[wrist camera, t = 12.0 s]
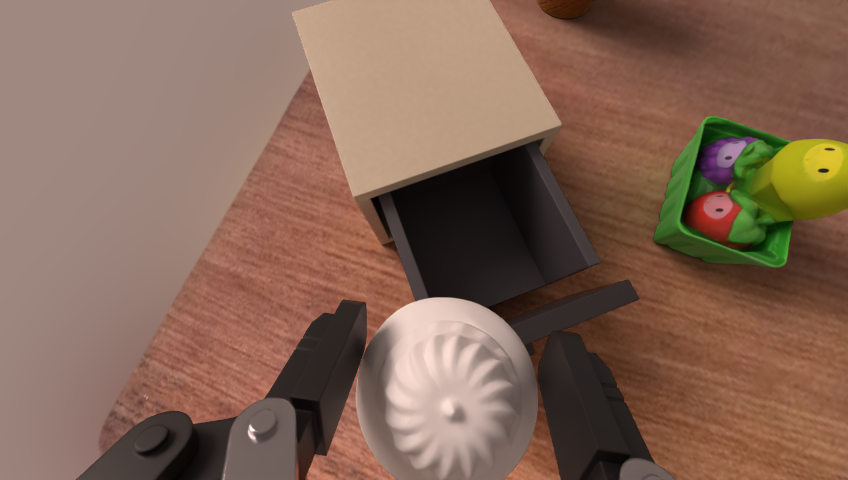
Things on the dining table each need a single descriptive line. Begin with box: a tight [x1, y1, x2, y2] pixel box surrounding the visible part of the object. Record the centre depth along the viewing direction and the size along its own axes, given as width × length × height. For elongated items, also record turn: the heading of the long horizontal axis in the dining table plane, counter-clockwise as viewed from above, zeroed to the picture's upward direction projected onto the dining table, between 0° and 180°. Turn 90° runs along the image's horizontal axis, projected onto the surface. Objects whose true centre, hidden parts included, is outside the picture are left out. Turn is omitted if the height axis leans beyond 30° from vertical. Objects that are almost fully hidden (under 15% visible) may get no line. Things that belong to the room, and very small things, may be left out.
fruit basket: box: [654, 116, 848, 268], centre depth 24 cm, size 11×9×11 cm
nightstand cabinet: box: [292, 0, 562, 245], centre depth 27 cm, size 16×14×11 cm
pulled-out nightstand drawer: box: [378, 141, 639, 356], centre depth 23 cm, size 16×13×9 cm
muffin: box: [356, 297, 538, 480], centre depth 11 cm, size 6×6×7 cm
